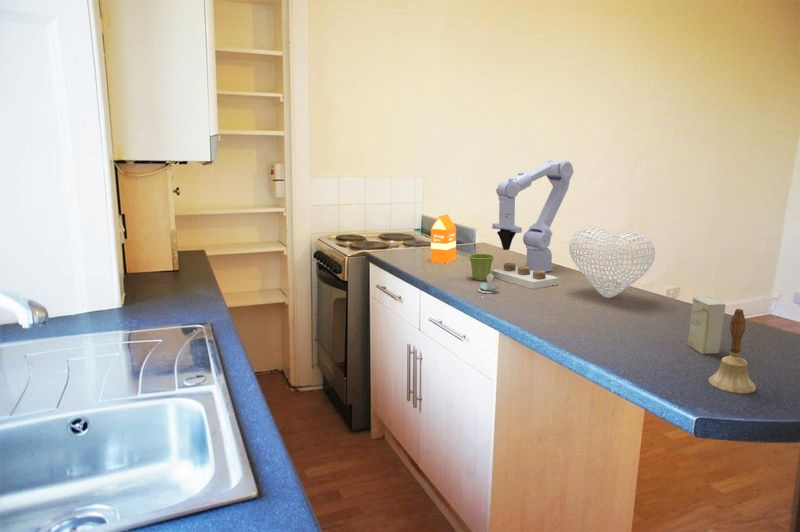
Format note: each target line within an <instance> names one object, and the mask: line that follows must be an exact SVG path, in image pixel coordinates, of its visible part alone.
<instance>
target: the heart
mask: <svg viewBox="0 0 800 532" xmlns="http://www.w3.org/2000/svg"><path fill="white" fill-rule="evenodd" d="M597 242H598V243H597ZM592 245H593V247H592ZM637 245H638V247H637ZM641 245H642V246H641ZM632 246H634V248H633V247H632ZM583 247H584V248H583ZM568 249H569V255H570V258H571V260H572V261H573V263H574V264H575V266H576V267H577V268H578V269H579V271H580V272H581V273H582V275H584V277H585V278H586V279H587V280H588V281H589V282H590V284H591V285H592V286H593V288H594V289H595V290H596V291H597V292H598V293H599V294H600V295H601V296H603V298H606V299H607V298H608V299H609V298H610V299H611V298H613V297H615V296H617V295H619V294H621V292H624V290H626V289H627V288H628V287H630V286H631V285H632V284H634V283H635V282H637V281H638V280H639V279H641V278H642V277H643V276H644V275H645V274H646V273H647V272H648V271H649V270H650V268H651V267H652V265H653V263H654V261H655V258H656V257H655V255H656V250H655V245H654V244H653V242H652V240H651V239H650V238H649V237H648V236H647V235H645V234H643V233H641V232H638V231H637V232H636V231H621V232H617V233H613V232H611V231H610V230H608V229H606V228H603V227H600V226H593V225H591V226H587V227H581V229H578V231H576V232H575V233H574V234H573V235H572V237H571V239H570V241H569V246H568ZM581 253H582V254H581ZM589 256H590V257H589ZM593 256H594V257H593ZM606 256H607V257H606ZM610 256H611V257H610ZM625 256H626V258H625ZM629 256H631V257H629ZM600 257H601V258H600ZM624 261H626V262H625V263H624ZM629 261H630V263H629ZM610 262H611V263H610ZM634 262H635V263H634ZM614 263H615V264H614ZM623 266H625V267H623ZM628 266H630V267H628ZM637 267H638V268H637ZM626 271H627V272H626Z"/></svg>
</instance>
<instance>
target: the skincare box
mask: <svg viewBox="0 0 800 532" xmlns="http://www.w3.org/2000/svg"><path fill="white" fill-rule="evenodd" d="M725 311H726V303H724V302H722V301H719V300H717V299H715V298H712V297H710V296H703V297H702V296H700V297H699V296H697V297H694V296H693V298H692V305H691V312H690V313H691V314H690V322H689V331H688V335H687V345H688V347H691V348H692V349H694V350H695V351H697V352H698V353H699V354H703V355H705V354H706V355H708V354H719V353H720V348H721V339H722V333H723V325H724V318H725V317H724V316H725Z"/></svg>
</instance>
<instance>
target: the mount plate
mask: <svg viewBox="0 0 800 532" xmlns="http://www.w3.org/2000/svg"><path fill="white" fill-rule="evenodd" d="M519 267H520V266H516V268H515V270H513V271H506V270H504V267H502V268H495V269H491V270H490V274H492V275H493V277H495V278H494V279H497V278H498V280H501V281H505V282H506V283H511V284H514V285H517V286H521V287H524V288H527V289H531V290H536V289H542V288H546V287H547V286H548V287H553V286H558V285H557V284H559V282H560V281H559V279H560V278H559V277H557V276H554V275H550V274H546V278H544V279H536V278H533V272H534V271H531V270H530V274H527V275H521V274H518V268H519ZM552 285H553V286H552Z"/></svg>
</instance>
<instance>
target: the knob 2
mask: <svg viewBox="0 0 800 532" xmlns="http://www.w3.org/2000/svg"><path fill="white" fill-rule="evenodd" d="M533 278H536V279H544V278H546V272H545V271H541V270H537V271H534V272H533Z"/></svg>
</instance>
